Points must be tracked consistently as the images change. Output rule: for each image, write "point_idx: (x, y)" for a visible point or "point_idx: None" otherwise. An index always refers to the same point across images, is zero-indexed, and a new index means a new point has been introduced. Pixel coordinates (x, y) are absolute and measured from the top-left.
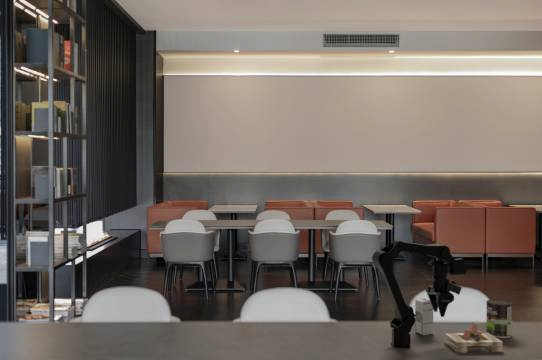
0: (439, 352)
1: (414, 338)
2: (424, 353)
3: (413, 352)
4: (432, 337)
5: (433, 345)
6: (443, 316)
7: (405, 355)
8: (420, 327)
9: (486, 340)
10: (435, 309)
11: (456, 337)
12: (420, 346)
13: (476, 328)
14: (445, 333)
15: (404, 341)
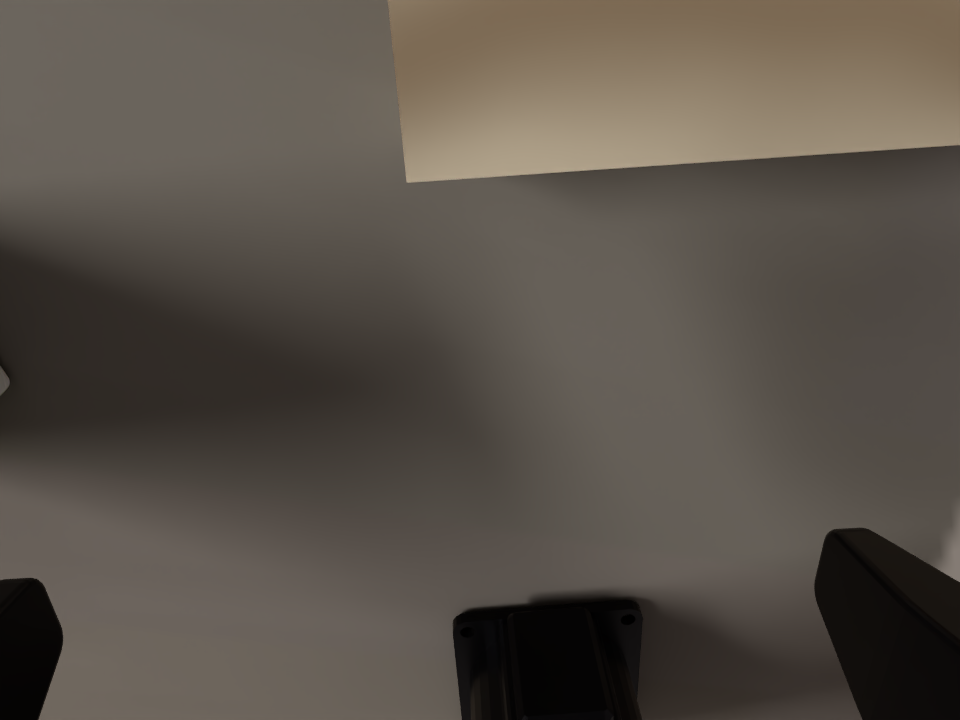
0: (896, 341)
1: (209, 501)
2: (887, 506)
3: None
4: (89, 259)
5: (558, 342)
6: (865, 544)
7: None
8: None
9: None
10: (12, 684)
11: (767, 23)
12: (596, 497)
13: None
14: (425, 175)
15: (635, 699)
